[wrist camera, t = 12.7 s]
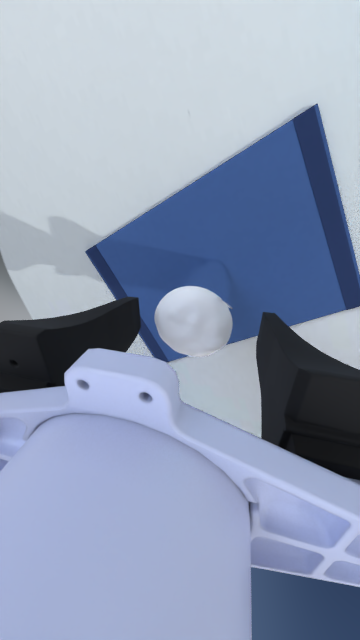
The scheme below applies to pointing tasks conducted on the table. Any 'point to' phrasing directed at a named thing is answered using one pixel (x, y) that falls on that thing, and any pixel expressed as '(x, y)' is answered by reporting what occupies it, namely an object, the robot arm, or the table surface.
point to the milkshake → (197, 312)
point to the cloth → (245, 237)
